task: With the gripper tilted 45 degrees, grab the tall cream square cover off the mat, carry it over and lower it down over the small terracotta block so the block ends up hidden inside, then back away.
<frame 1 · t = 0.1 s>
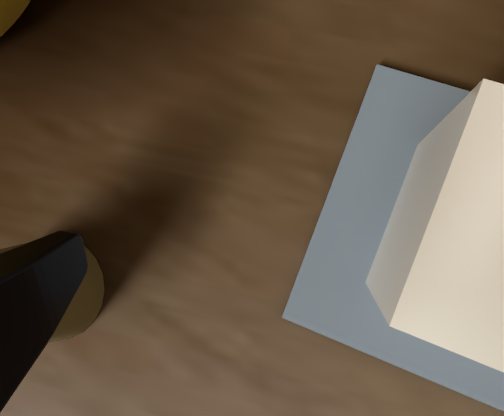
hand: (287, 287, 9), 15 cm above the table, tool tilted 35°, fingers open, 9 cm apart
cover: (465, 240, 21), resting on mat
mat: (463, 240, 22), on the table
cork: (59, 287, 26), on the table
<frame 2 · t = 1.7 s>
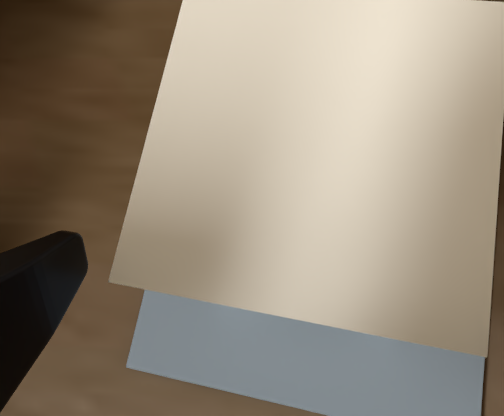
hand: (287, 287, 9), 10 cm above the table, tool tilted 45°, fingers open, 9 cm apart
cover: (316, 233, 19), resting on mat
mat: (316, 235, 19), on the table
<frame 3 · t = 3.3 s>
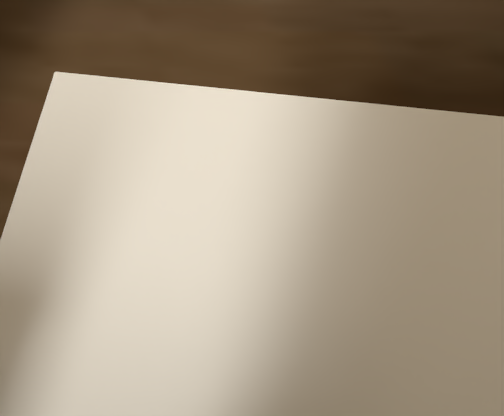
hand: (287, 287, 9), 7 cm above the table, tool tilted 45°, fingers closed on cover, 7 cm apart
cover: (294, 343, 15), resting on mat, touching gripper
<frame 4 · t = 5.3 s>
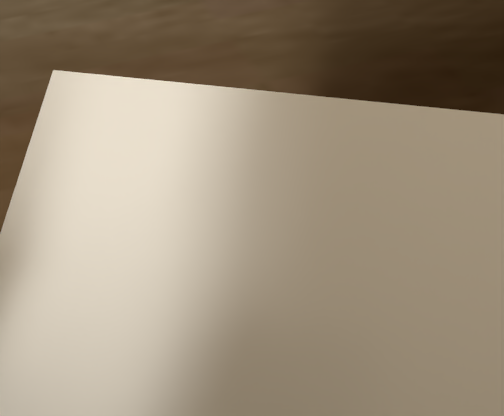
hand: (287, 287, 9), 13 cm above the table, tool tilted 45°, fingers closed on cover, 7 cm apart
cover: (294, 342, 15), point 7 cm above the table, touching gripper
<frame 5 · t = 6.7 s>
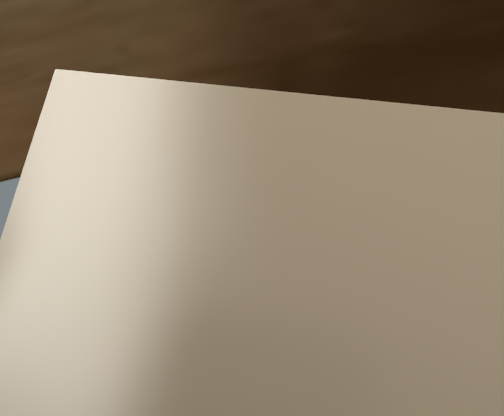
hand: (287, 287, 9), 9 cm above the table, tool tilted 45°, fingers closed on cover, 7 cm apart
cover: (295, 342, 15), point 2 cm above the table, touching gripper
mat: (0, 339, 19), on the table
when the fingers open (8 cm above the table, at t = 7.5 s): cover drops 1 cm, on the table.
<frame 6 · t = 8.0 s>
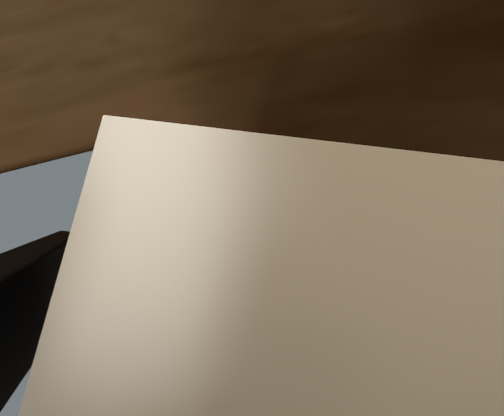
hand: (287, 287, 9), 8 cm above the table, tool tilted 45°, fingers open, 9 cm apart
cover: (298, 340, 16), on the table
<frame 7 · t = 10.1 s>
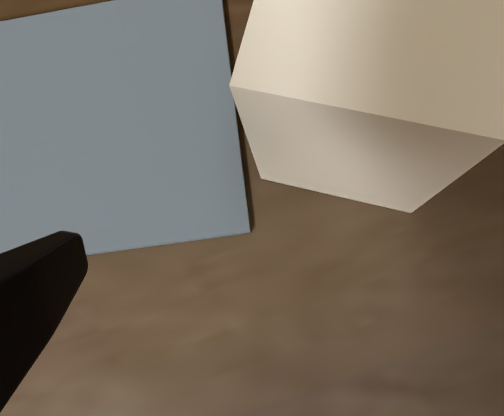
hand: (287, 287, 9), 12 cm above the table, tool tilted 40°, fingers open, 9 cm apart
cover: (350, 125, 22), on the table
mat: (106, 122, 24), on the table
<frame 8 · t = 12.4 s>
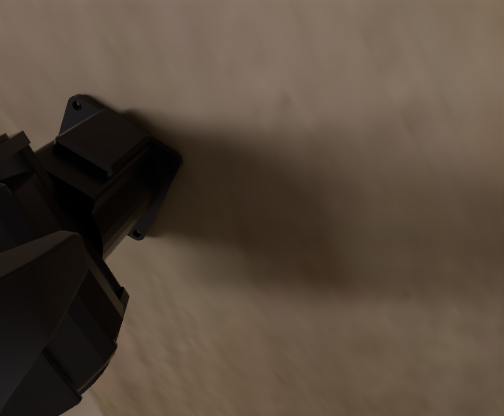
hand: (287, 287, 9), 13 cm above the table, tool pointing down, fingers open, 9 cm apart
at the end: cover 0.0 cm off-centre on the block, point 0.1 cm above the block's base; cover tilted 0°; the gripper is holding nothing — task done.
